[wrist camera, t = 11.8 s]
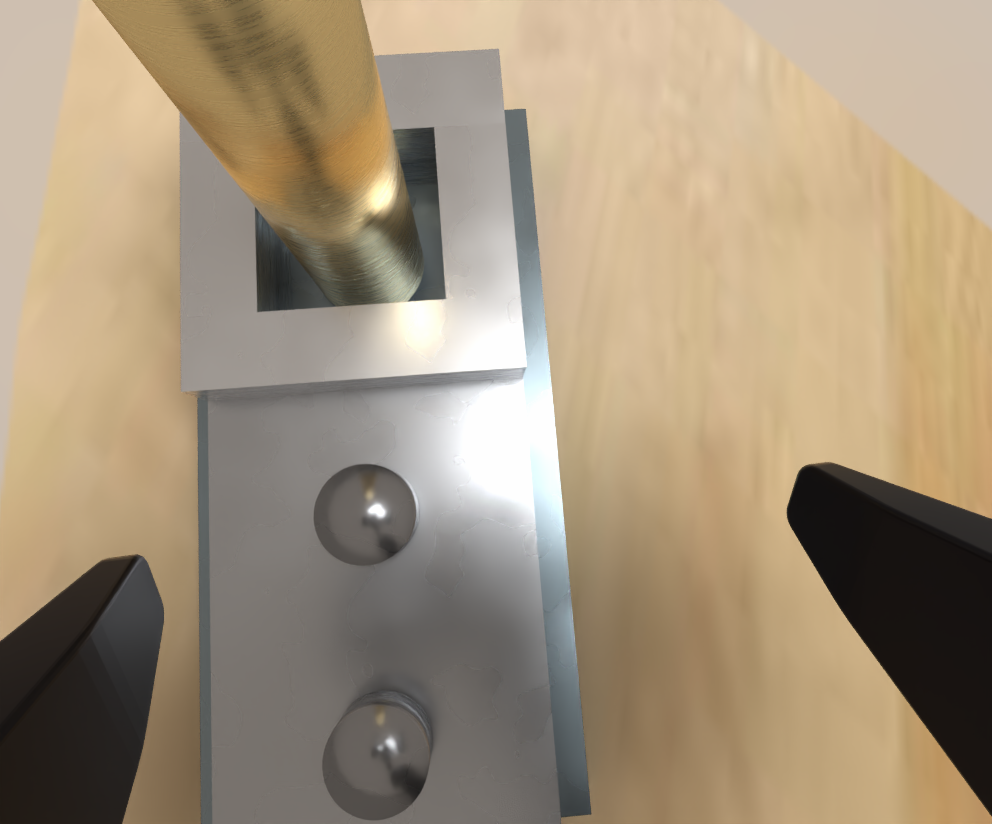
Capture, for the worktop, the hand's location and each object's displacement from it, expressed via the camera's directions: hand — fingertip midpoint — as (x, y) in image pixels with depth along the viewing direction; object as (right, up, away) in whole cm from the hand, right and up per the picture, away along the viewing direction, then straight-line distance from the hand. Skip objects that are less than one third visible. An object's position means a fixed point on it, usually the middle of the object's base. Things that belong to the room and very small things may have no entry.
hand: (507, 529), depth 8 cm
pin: (-4, +6, +11) cm, 13 cm away
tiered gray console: (-4, 0, +12) cm, 12 cm away
